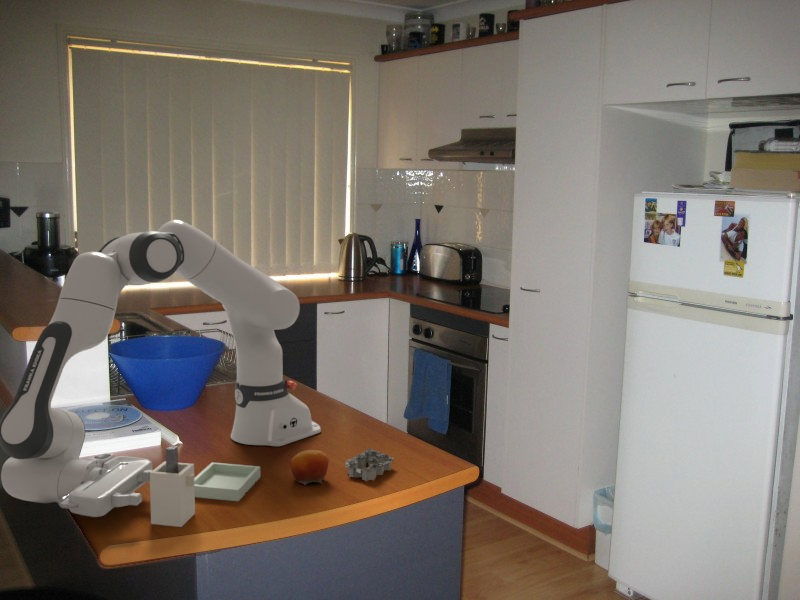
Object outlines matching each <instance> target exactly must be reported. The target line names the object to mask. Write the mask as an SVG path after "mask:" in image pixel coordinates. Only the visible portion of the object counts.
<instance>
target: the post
mask: <svg viewBox="0 0 800 600" xmlns="http://www.w3.org/2000/svg"><path fill="white" fill-rule="evenodd" d="M178 451H179V448H178V446H175V445H174V446H173V445H169V446H168V447H166V448H165V461H166V473H177V474H178V463H179V454H178V453H179V452H178Z"/></svg>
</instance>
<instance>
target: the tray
mask: <svg viewBox="0 0 800 600" xmlns="http://www.w3.org/2000/svg"><path fill="white" fill-rule="evenodd" d="M260 478H261V466H260V465H258V466H257V465H246V464H235V463H223V462H210V463H209V464H208V465H207V466H206V467H205V468H204V469H202V471H200V472H199V473H198V474H197V475H196V476H194V486H195V498H197V499H199V498H200V499H209V500H221V501H229V502H230V501H231V502H239V501H240V500H241V499H243V497H244V496H245V495H246V494H247V493H246V492H249V490H250V489H251V488H252V487H253V486H254V485H255V484H256V483H257V482H258V481H259V480H260ZM255 482H256V483H255ZM245 493H246V494H245Z"/></svg>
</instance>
